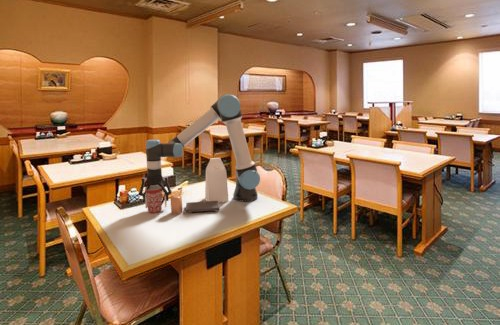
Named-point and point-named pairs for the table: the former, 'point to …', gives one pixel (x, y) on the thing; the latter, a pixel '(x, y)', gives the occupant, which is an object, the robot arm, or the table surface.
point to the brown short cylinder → (176, 204)
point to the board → (202, 206)
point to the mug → (154, 199)
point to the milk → (216, 181)
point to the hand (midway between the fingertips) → (156, 206)
